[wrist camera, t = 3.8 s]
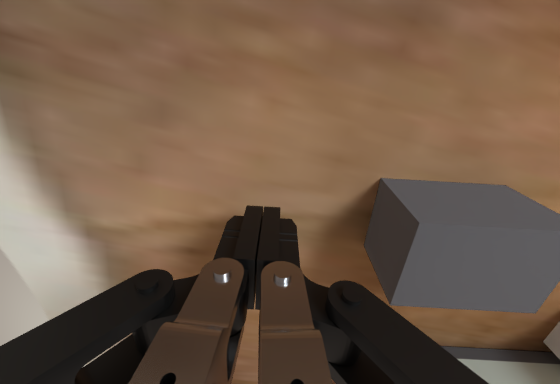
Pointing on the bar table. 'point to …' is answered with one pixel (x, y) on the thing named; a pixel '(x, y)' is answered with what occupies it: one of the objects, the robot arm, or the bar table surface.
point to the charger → (554, 340)
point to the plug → (463, 246)
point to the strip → (510, 365)
